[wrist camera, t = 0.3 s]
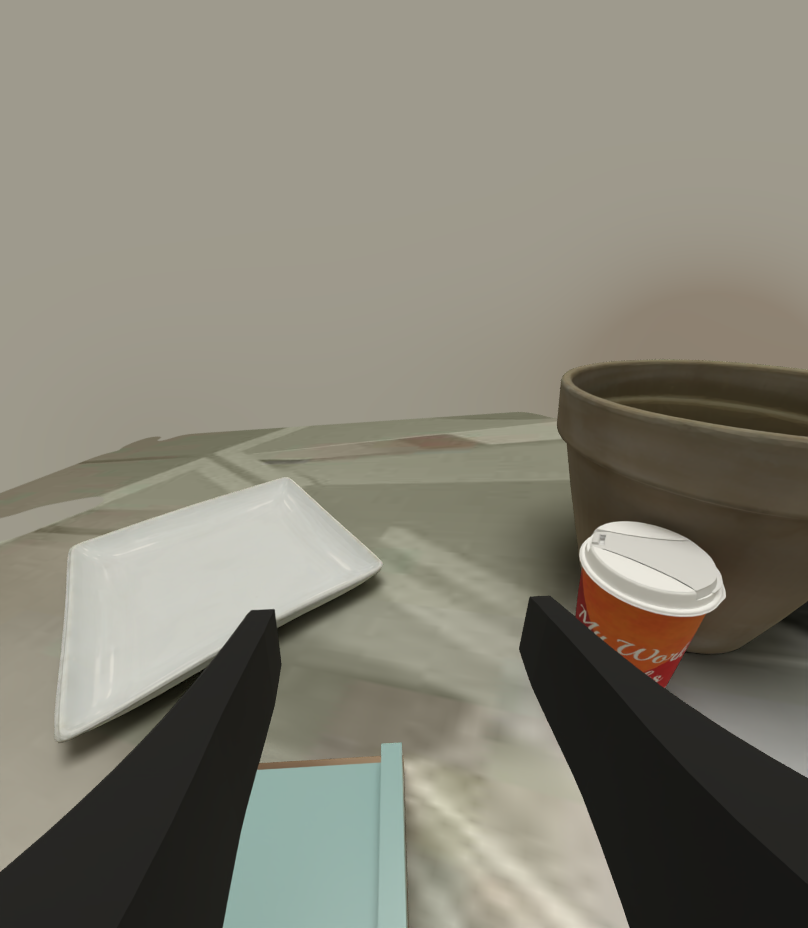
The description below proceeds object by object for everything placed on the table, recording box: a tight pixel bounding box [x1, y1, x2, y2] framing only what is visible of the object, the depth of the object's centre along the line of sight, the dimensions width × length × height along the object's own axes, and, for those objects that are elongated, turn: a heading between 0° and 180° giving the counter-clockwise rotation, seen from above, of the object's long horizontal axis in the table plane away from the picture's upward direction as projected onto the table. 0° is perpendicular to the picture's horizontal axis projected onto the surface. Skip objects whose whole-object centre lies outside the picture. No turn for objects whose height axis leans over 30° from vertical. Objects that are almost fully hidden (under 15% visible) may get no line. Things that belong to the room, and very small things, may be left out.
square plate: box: [54, 477, 383, 743], centre depth 42 cm, size 27×27×4 cm
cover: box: [223, 743, 408, 928], centre depth 18 cm, size 10×10×3 cm
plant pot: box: [557, 359, 808, 654], centre depth 33 cm, size 25×25×22 cm
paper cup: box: [575, 521, 726, 688], centre depth 26 cm, size 8×8×14 cm
